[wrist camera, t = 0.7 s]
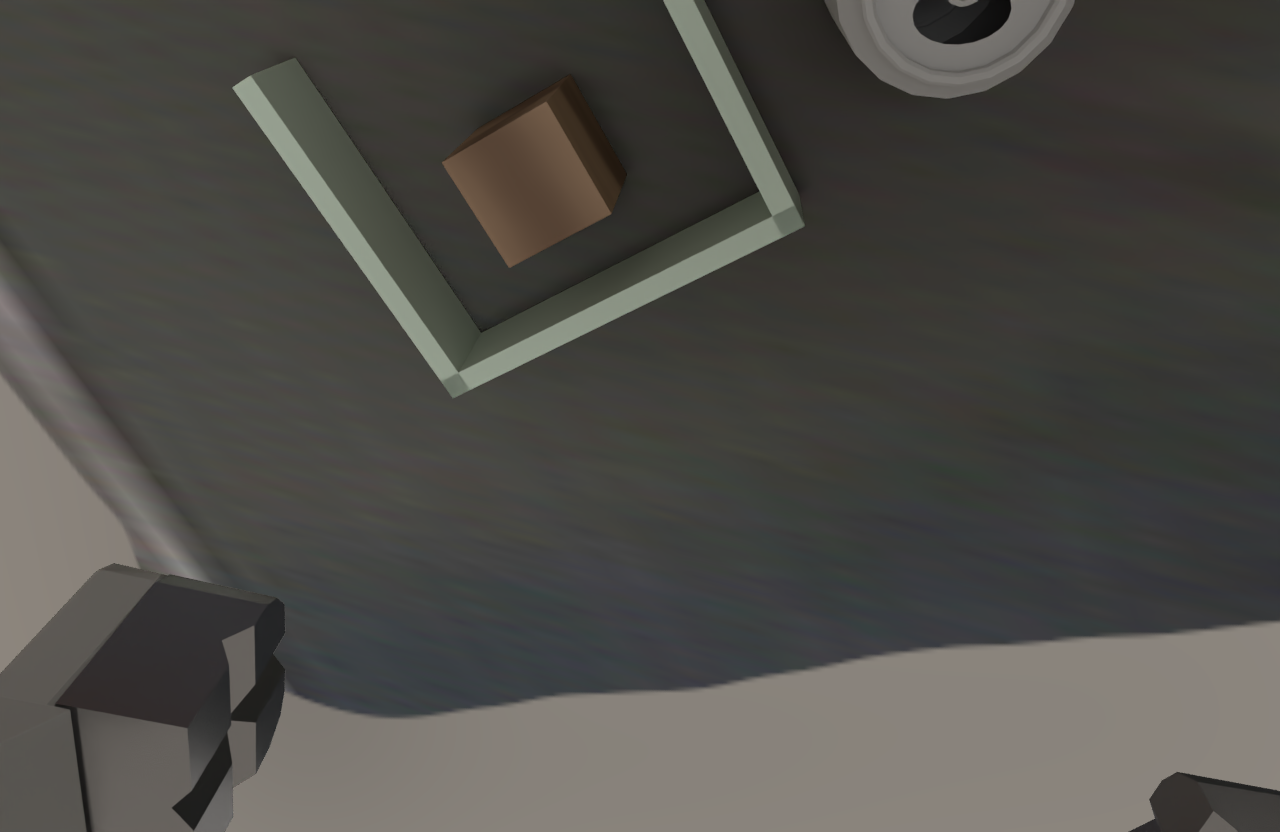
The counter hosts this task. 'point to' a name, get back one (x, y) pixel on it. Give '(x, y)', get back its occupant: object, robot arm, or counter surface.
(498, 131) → the block
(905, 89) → the can
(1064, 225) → the counter surface
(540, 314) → the pale green frame
